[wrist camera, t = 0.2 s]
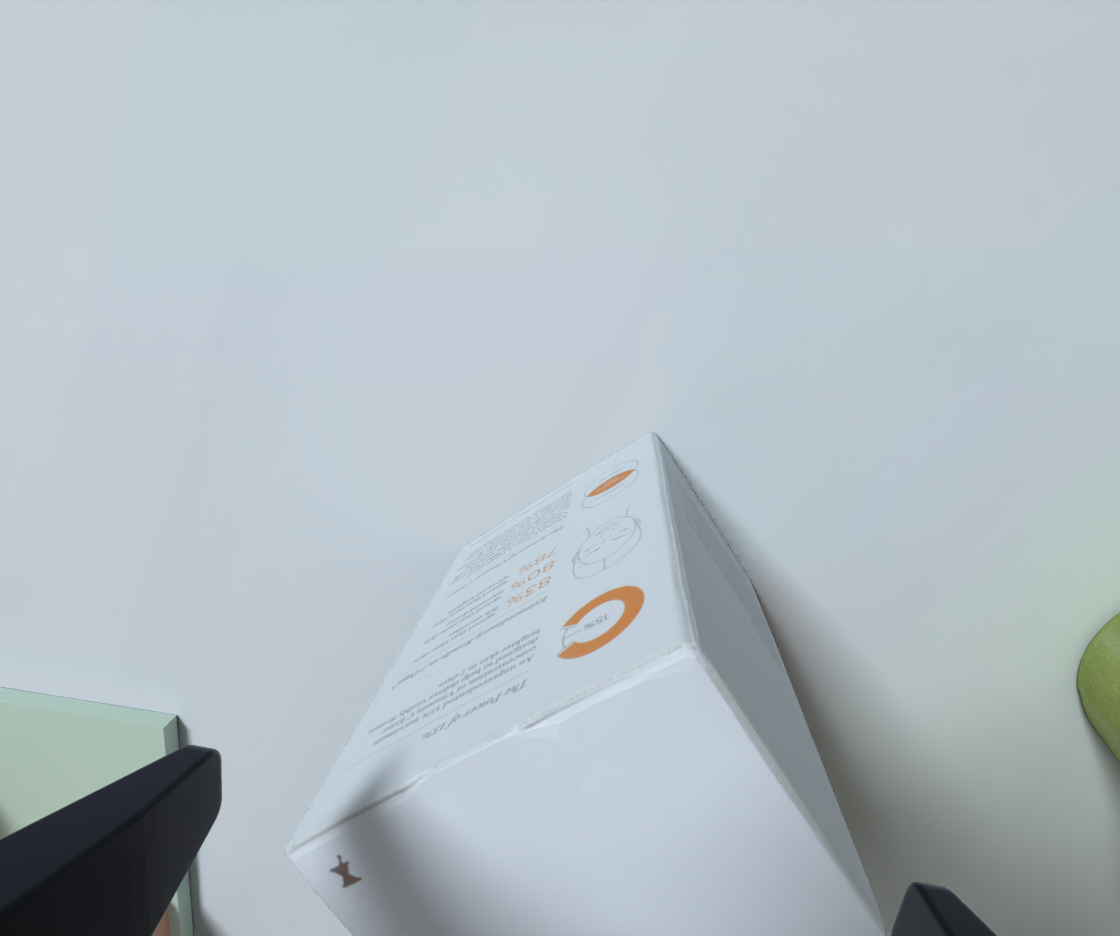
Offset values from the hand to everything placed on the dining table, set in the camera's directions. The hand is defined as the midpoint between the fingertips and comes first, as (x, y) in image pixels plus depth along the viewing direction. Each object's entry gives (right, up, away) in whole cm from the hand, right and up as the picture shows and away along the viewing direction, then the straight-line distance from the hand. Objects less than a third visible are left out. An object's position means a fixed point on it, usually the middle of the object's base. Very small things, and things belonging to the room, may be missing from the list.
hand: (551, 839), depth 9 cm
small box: (+2, +2, +15) cm, 15 cm away
